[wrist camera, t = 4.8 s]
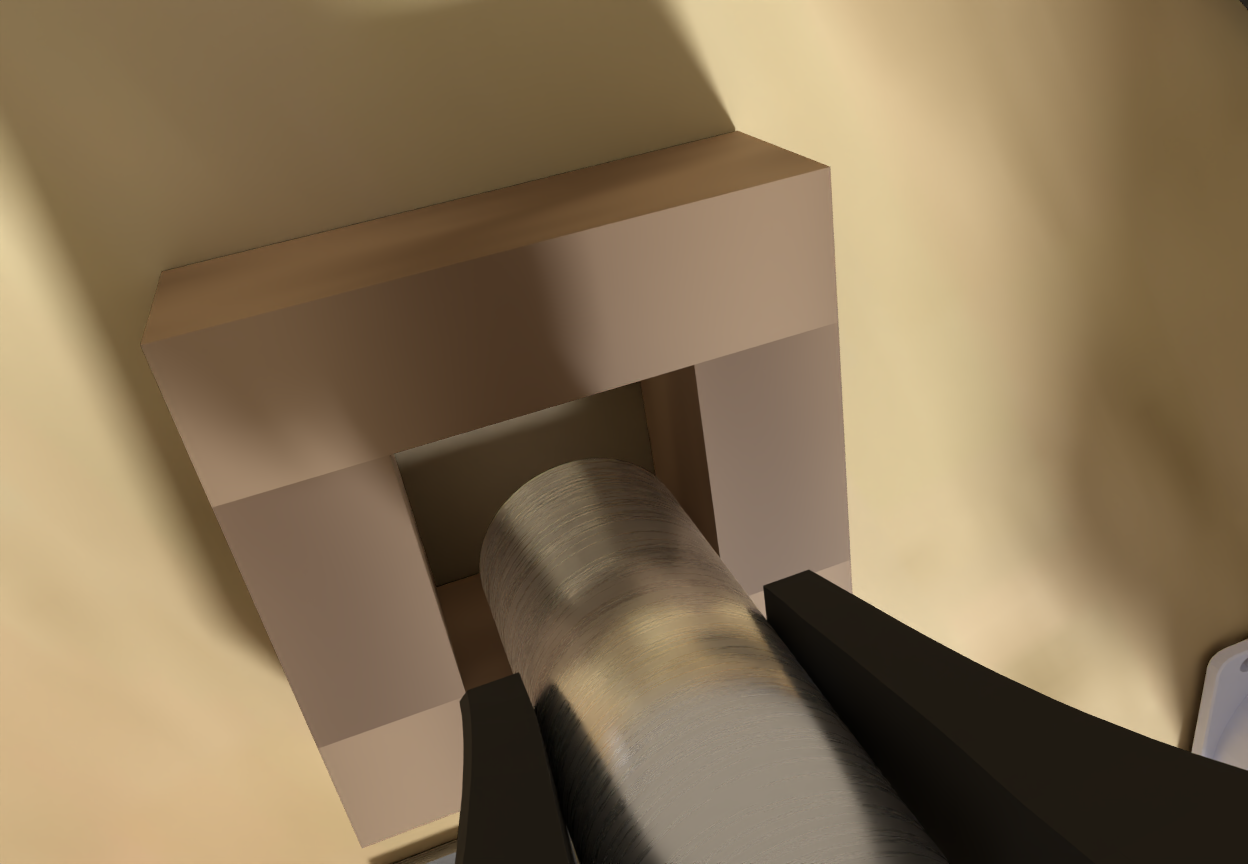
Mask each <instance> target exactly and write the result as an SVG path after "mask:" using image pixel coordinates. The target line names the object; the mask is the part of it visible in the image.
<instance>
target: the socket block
mask: <svg viewBox="0 0 1248 864" xmlns="http://www.w3.org/2000/svg"><path fill="white" fill-rule="evenodd" d="M140 346H141V348H142V350H143V353H144V355H145V357H146V359H147V362H148V364H149V366H150V368H151V371H152V373H153V375H154V378H155V380H156V382H157V384H158V387H159V389H160V391H161V393H162V396H163V398H164V400H165V403H166V405H167V407H168V409H169V412H170V414H171V416H172V418H173V421H174V423H175V425H176V427H177V430H178V432H179V434H180V437H181V439H182V441H183V443H184V446H185V448H186V450H187V452H188V455H189V457H190V459H191V462H192V464H193V466H194V468H195V471H196V473H197V475H198V477H199V480H200V482H201V484H202V487H203V489H204V491H205V493H206V496H207V498H208V500H209V502H210V505H211V507H212V509H213V511H214V514H215V516H216V518H217V521H218V523H219V525H220V527H221V530H222V532H223V534H224V536H225V539H226V541H227V543H228V546H229V548H230V550H231V552H232V555H233V557H234V559H235V561H236V564H237V566H238V568H239V570H240V573H241V575H242V577H243V580H244V582H245V584H246V586H247V589H248V591H249V593H250V595H251V598H252V600H253V602H254V605H255V607H256V609H257V611H258V614H259V616H260V618H261V620H262V623H263V625H264V627H265V630H266V632H267V634H268V636H269V639H270V641H271V643H272V645H273V648H274V650H275V652H276V654H277V657H278V659H279V661H280V664H281V666H282V668H283V670H284V673H285V675H286V677H287V679H288V682H289V684H290V686H291V689H292V691H293V693H294V695H295V698H296V700H297V702H298V704H299V707H300V709H301V711H302V713H303V716H304V718H305V720H306V723H307V725H308V727H309V729H310V732H311V734H312V736H313V738H314V741H315V743H316V745H317V748H318V750H319V752H320V754H321V757H322V759H323V761H324V763H325V766H326V768H327V770H328V773H329V775H330V777H331V779H332V782H333V784H334V786H335V788H336V791H337V793H338V795H339V797H340V800H341V802H342V804H343V807H344V809H345V811H346V813H347V816H348V818H349V820H350V822H351V825H352V827H353V829H354V832H355V834H356V836H357V838H358V841H359V843H360V845H361V847H362V848H364V847H367V846H369V845H372V844H375V843H377V842H380V841H383V840H385V839H388V838H390V837H393V836H396V835H398V834H401V833H404V832H406V831H409V830H412V829H414V828H417V827H419V826H422V825H425V824H427V823H430V822H433V821H435V820H438V819H441V818H443V817H446V816H449V815H451V814H454V813H456V812H459V811H460V808H461V798H462V780H463V726H462V715H461V709H460V702H459V701H460V700H461V698H462V697H463V695H464V694H465V693H466V691H467V690H470V689H472V688H475V687H478V686H481V685H484V684H487V683H489V682H492V681H495V680H498V679H501V678H504V677H506V676H509V675H512V674H513V672H512V669H511V667H510V664H509V661H508V658H507V655H506V652H505V649H504V647H503V644H502V641H501V638H500V635H499V632H498V630H497V627H496V624H495V621H494V618H493V615H492V612H491V610H490V607H489V604H488V601H487V598H486V595H485V592H484V590H483V586H482V582H481V578H480V573H479V574H476V575H473V576H470V577H467V578H464V579H460V580H457V581H454V582H451V583H448V584H445V585H442V586H439V587H436V584H435V581H434V578H433V575H432V572H431V569H430V565H429V562H428V559H427V556H426V553H425V550H424V547H423V544H422V540H421V537H420V534H419V531H418V528H417V525H416V522H415V518H414V515H413V512H412V509H411V506H410V503H409V500H408V496H407V493H406V490H405V487H404V484H403V481H402V478H401V474H400V471H399V468H398V465H397V462H396V459H395V456H394V454H395V453H398V452H401V451H405V450H408V449H411V448H415V447H418V446H422V445H425V444H428V443H432V442H435V441H438V440H442V439H445V438H449V437H452V436H455V435H459V434H462V433H465V432H469V431H472V430H476V429H479V428H482V427H486V426H489V425H492V424H496V423H499V422H503V421H506V420H509V419H513V418H516V417H519V416H523V415H526V414H530V413H533V412H536V411H540V410H543V409H546V408H550V407H553V406H557V405H560V404H563V403H567V402H570V401H573V400H577V399H580V398H584V397H587V396H590V395H594V394H597V393H600V392H604V391H607V390H611V389H614V388H617V387H621V386H624V385H628V384H631V383H634V382H638V381H640V384H641V390H642V396H643V402H644V408H645V414H646V420H647V426H648V432H649V438H650V444H651V450H652V456H653V462H654V468H655V474H656V477H657V478H658V479H659V480H660V481H661V482H662V483H663V484H664V485H665V486H666V487H667V488H668V490H669V491H670V492H671V494H672V495H673V496H674V498H675V499H676V500H677V502H678V503H679V504H680V505H681V507H682V508H683V509H684V511H685V512H686V513H687V515H688V516H689V517H690V519H691V520H692V521H693V523H694V524H695V525H696V527H697V528H698V529H699V531H700V532H701V533H702V535H703V536H704V537H705V539H706V540H707V541H708V543H709V544H710V545H711V547H712V548H713V549H714V551H715V552H716V553H717V555H718V556H719V557H720V559H721V560H722V561H723V563H724V564H725V565H726V567H727V568H728V569H729V571H730V572H731V573H732V575H733V576H734V577H735V579H736V580H737V581H738V583H739V584H740V585H741V587H742V588H743V589H744V591H745V592H746V593H747V595H748V596H749V597H750V598H751V600H752V601H753V602H754V604H755V605H756V606H757V608H758V609H759V610H760V612H761V613H762V614H763V616H764V617H765V618H766V609H765V600H764V590H763V585H766V584H769V583H772V582H775V581H778V580H780V579H783V578H786V577H789V576H792V575H795V574H797V573H800V572H803V571H806V570H811V571H813V572H814V573H816V574H818V575H820V576H822V577H823V578H825V579H827V580H829V581H830V582H832V583H834V584H836V585H837V586H839V587H841V588H843V589H844V590H846V591H848V592H849V593H851V594H852V578H851V559H850V540H849V520H848V501H847V482H846V462H845V443H844V424H843V404H842V385H841V365H840V346H839V327H838V307H837V288H836V269H835V249H834V230H833V211H832V191H831V172H830V167H829V166H827V165H824V164H821V163H819V162H816V161H814V160H811V159H809V158H806V157H804V156H801V155H798V154H796V153H793V152H791V151H788V150H786V149H783V148H780V147H778V146H775V145H773V144H770V143H768V142H765V141H762V140H760V139H757V138H755V137H752V136H750V135H747V134H744V133H742V132H739V131H735V132H731V133H727V134H723V135H719V136H715V137H711V138H706V139H702V140H698V141H694V142H690V143H686V144H682V145H678V146H674V147H670V148H666V149H661V150H657V151H653V152H649V153H645V154H641V155H637V156H633V157H629V158H625V159H621V160H616V161H612V162H608V163H604V164H600V165H596V166H592V167H588V168H584V169H580V170H575V171H571V172H567V173H563V174H559V175H555V176H551V177H547V178H543V179H539V180H535V181H530V182H526V183H522V184H518V185H514V186H510V187H506V188H502V189H498V190H494V191H490V192H485V193H481V194H477V195H473V196H469V197H465V198H461V199H457V200H453V201H449V202H445V203H440V204H436V205H432V206H428V207H424V208H420V209H416V210H412V211H408V212H404V213H400V214H395V215H391V216H387V217H383V218H379V219H375V220H371V221H367V222H363V223H359V224H355V225H350V226H346V227H342V228H338V229H334V230H330V231H326V232H322V233H318V234H314V235H309V236H305V237H301V238H297V239H293V240H289V241H285V242H281V243H277V244H273V245H269V246H264V247H260V248H256V249H252V250H248V251H244V252H240V253H236V254H232V255H228V256H224V257H219V258H215V259H211V260H207V261H203V262H199V263H195V264H191V265H187V266H183V267H179V268H174V269H170V270H166V271H162V272H161V276H160V279H159V283H158V286H157V290H156V293H155V296H154V300H153V303H152V307H151V310H150V314H149V317H148V320H147V324H146V327H145V331H144V334H143V338H142V341H141V344H140ZM766 620H767V618H766Z"/></svg>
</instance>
